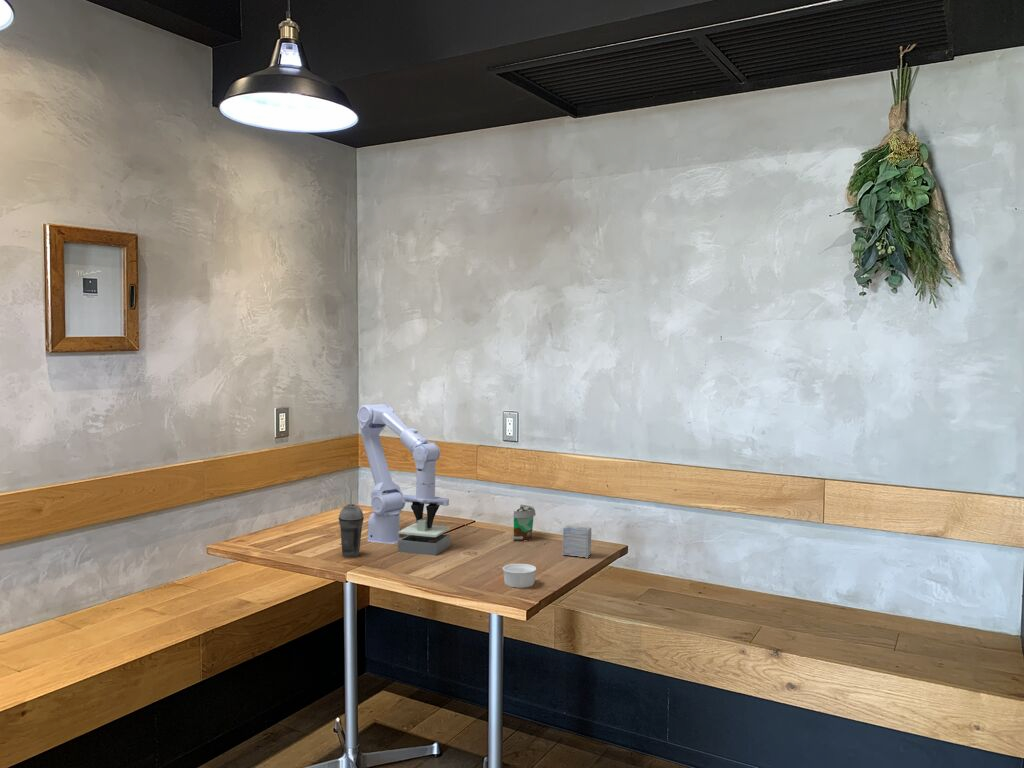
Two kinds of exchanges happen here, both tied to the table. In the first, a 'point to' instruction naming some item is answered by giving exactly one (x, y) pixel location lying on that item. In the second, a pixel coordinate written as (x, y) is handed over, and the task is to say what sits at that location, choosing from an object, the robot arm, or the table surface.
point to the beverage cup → (351, 529)
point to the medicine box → (577, 541)
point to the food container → (523, 523)
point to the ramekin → (519, 575)
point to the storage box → (423, 544)
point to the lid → (423, 529)
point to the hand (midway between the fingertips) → (424, 527)
